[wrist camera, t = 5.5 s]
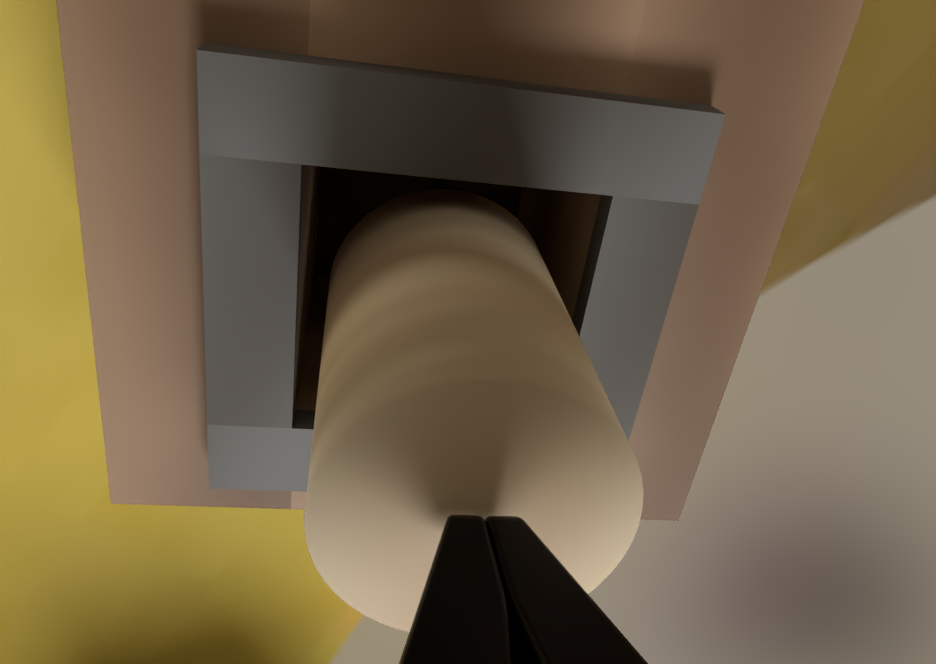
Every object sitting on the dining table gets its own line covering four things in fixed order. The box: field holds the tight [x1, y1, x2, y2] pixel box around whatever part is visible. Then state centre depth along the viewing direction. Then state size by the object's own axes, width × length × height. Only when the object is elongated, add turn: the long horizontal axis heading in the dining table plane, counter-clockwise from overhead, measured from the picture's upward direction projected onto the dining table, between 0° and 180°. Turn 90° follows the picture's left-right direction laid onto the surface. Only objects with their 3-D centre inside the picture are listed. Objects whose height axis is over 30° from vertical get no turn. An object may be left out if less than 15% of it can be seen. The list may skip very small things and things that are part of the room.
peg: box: [304, 189, 644, 632], centre depth 12 cm, size 4×4×6 cm
